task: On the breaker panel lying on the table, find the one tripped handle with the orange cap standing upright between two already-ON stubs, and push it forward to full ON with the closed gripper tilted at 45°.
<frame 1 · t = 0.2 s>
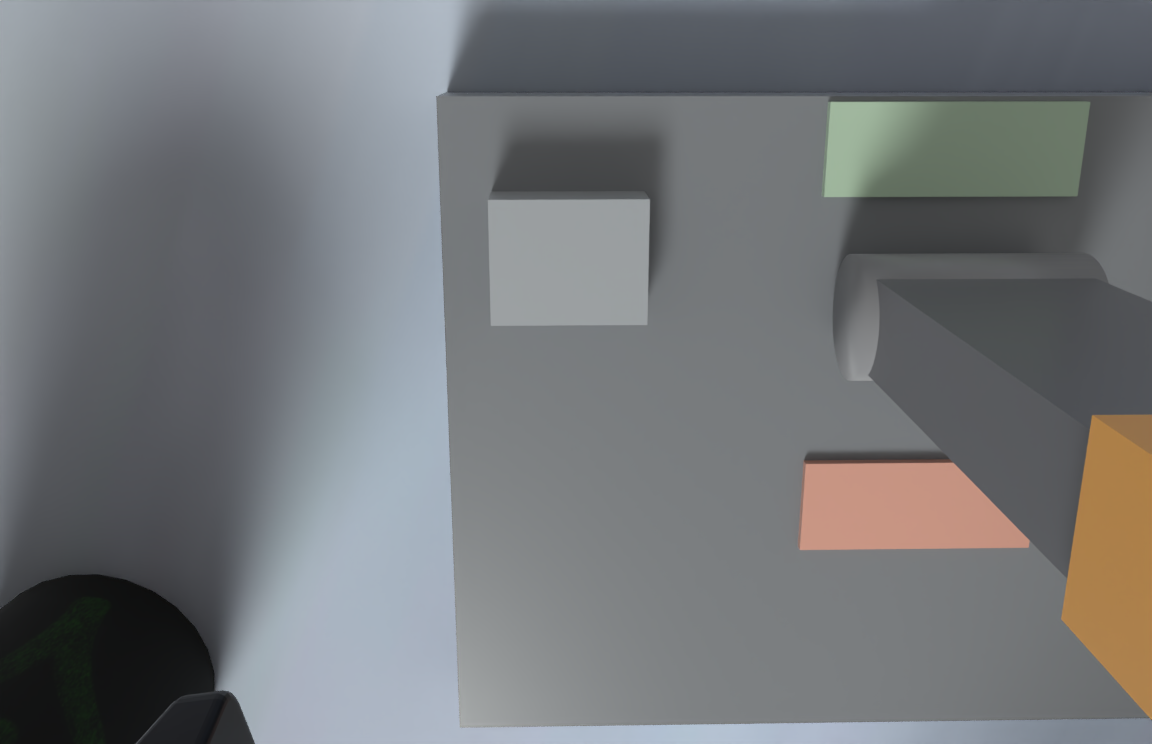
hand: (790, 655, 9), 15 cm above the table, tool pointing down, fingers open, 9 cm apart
breaker panel: (893, 406, 24), on the table
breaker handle: (1091, 398, 15), point 8 cm above the table, hinge at 0.0°
cup: (103, 671, 26), on the table
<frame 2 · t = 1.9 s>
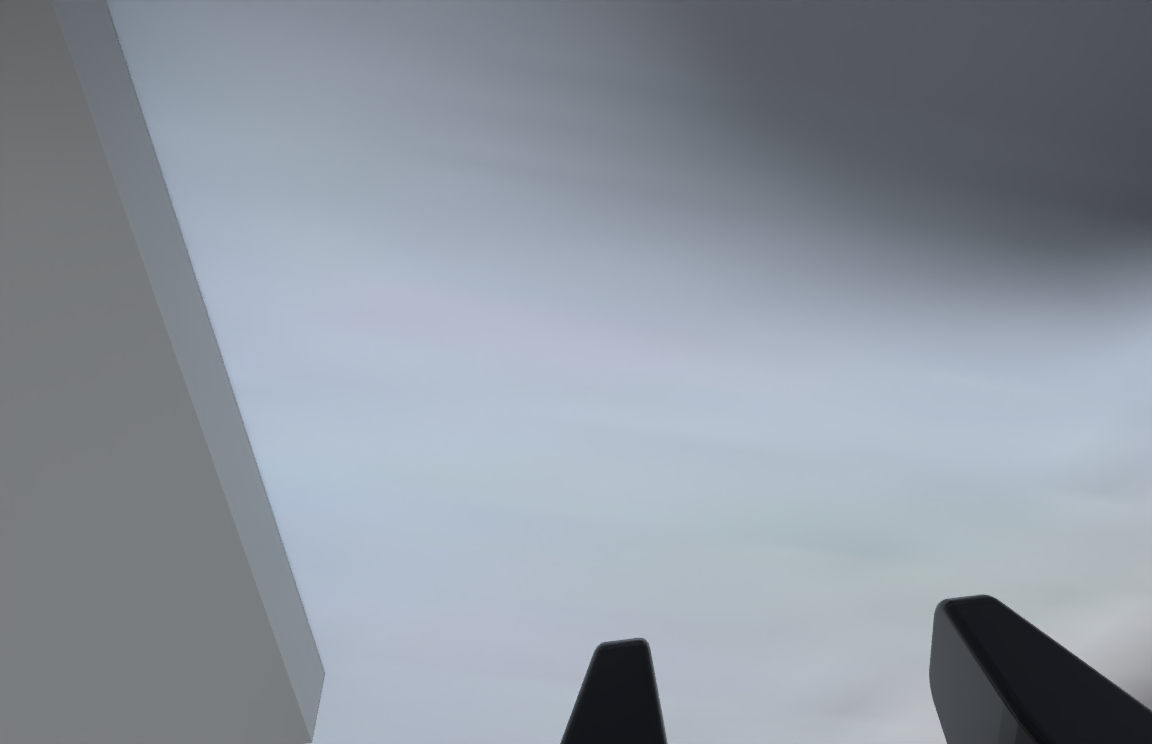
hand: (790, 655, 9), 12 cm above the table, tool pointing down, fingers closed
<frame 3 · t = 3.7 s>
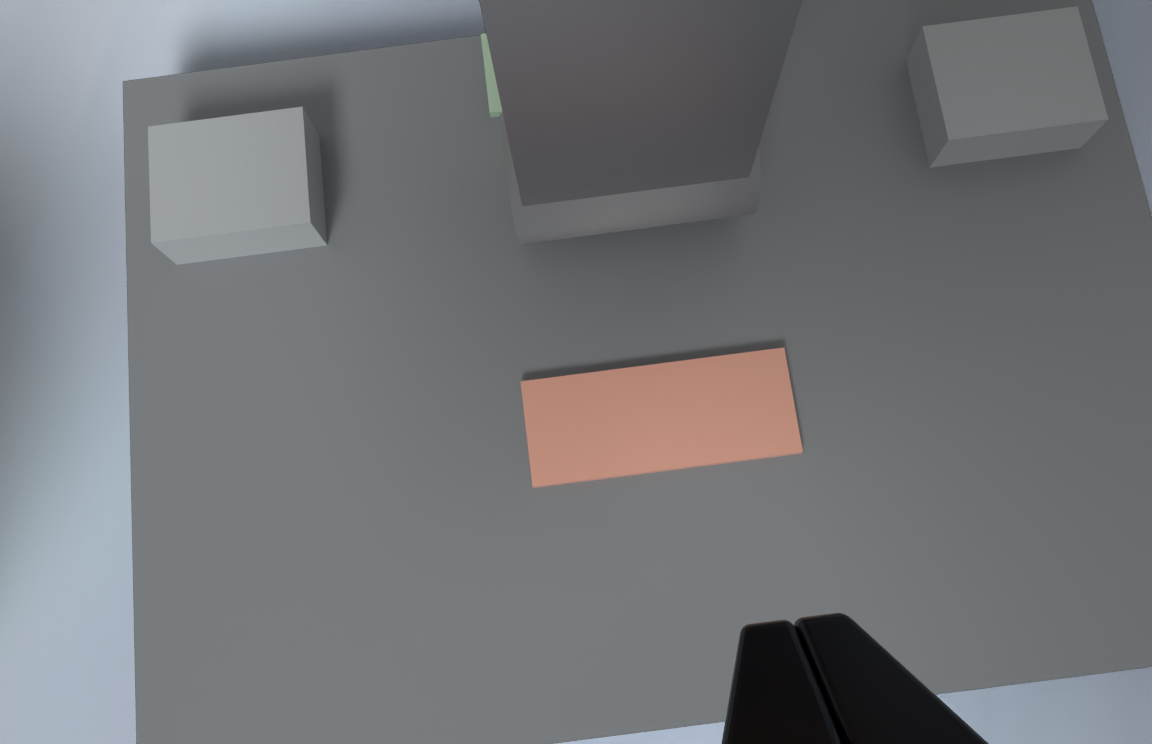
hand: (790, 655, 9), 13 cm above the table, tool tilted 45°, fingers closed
breaker panel: (645, 367, 22), on the table
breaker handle: (633, 11, 15), point 8 cm above the table, hinge at 0.0°
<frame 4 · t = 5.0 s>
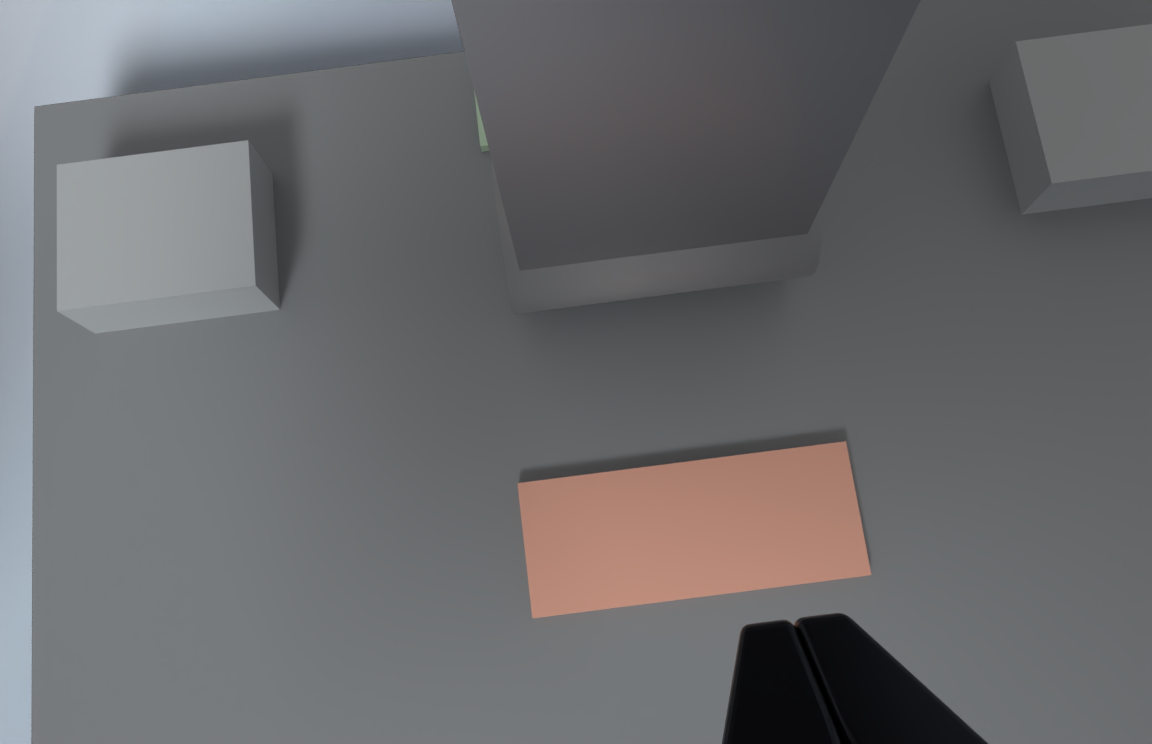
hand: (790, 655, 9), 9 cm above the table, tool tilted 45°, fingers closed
breaker panel: (669, 454, 18), on the table
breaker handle: (670, 27, 11), point 8 cm above the table, hinge at 0.0°
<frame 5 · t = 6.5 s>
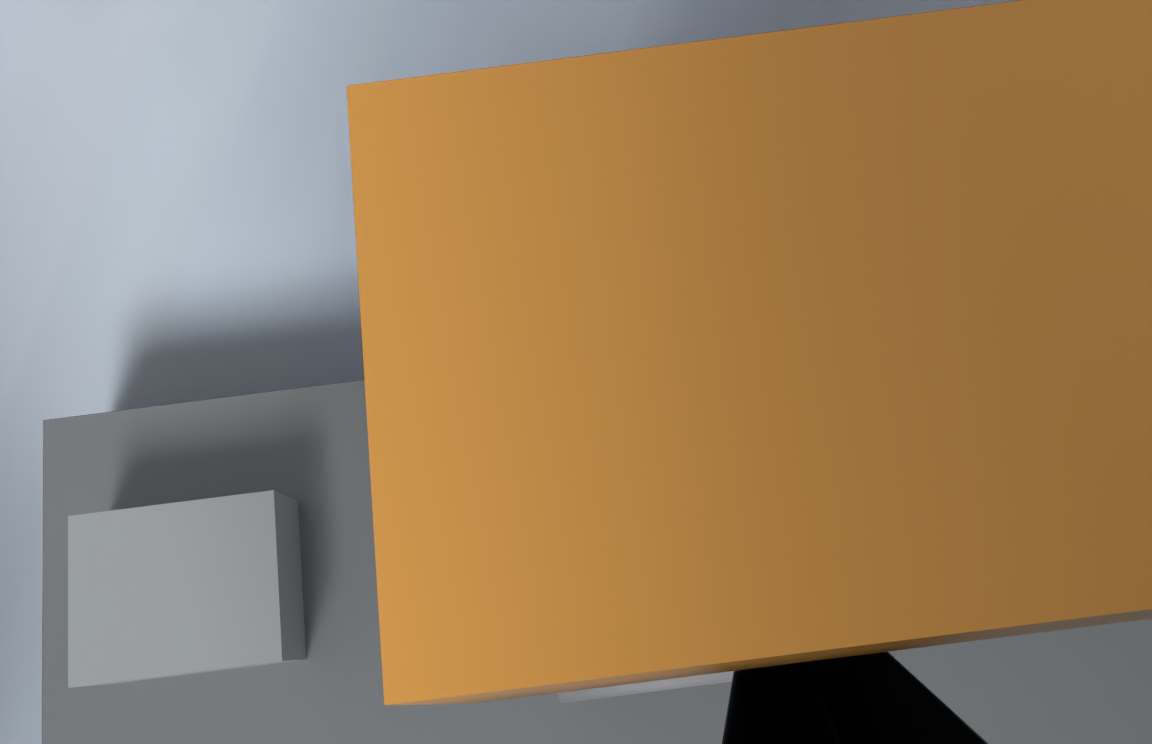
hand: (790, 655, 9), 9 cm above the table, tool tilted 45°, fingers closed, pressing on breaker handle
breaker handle: (754, 538, 10), point 8 cm above the table, hinge at 3.3°, touching gripper
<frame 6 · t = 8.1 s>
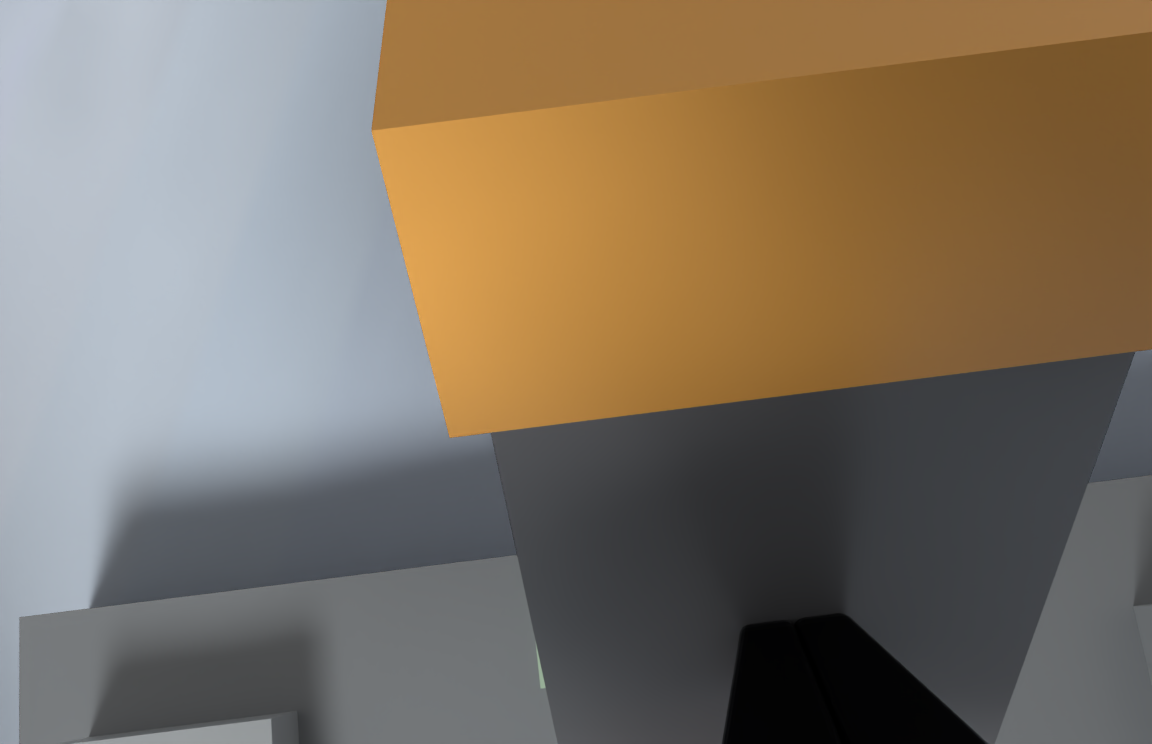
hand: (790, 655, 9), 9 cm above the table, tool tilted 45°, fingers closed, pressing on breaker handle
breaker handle: (764, 619, 10), point 8 cm above the table, hinge at 34.0°, touching gripper
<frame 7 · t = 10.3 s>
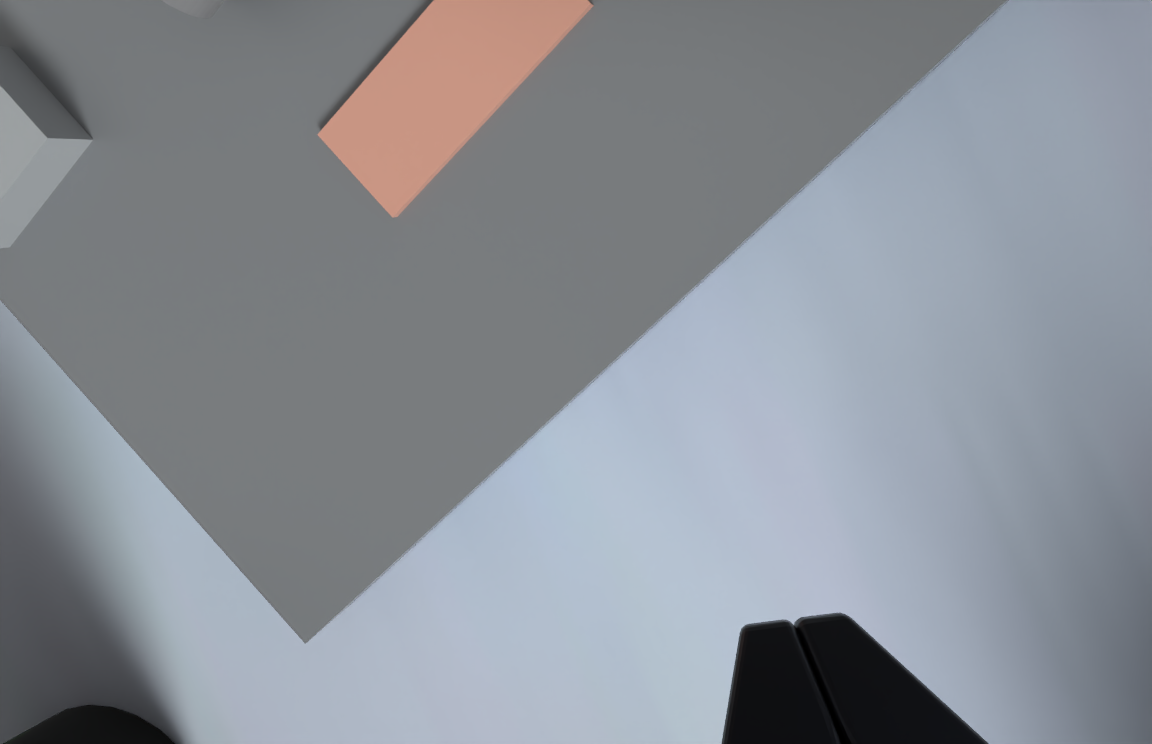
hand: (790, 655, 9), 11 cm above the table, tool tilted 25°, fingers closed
breaker panel: (437, 24, 20), on the table
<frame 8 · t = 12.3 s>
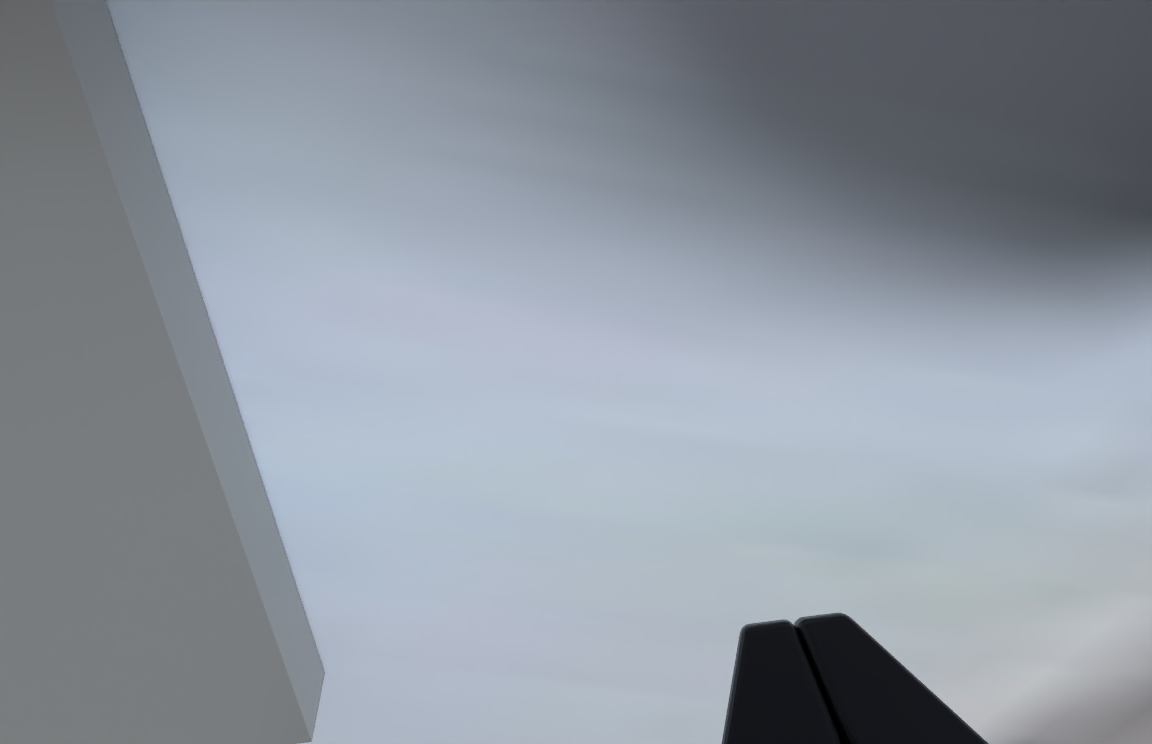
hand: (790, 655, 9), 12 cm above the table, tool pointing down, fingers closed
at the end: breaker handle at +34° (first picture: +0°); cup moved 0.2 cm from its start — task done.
